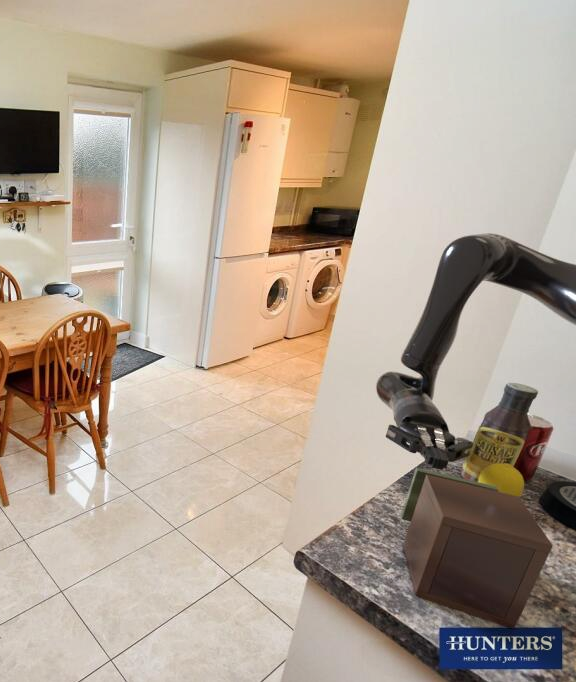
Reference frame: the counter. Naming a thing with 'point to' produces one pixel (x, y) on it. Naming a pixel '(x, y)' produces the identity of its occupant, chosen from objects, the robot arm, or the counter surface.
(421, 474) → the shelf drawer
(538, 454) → the soda can
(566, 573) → the counter surface
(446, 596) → the box
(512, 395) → the sauce bottle
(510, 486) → the lemon
